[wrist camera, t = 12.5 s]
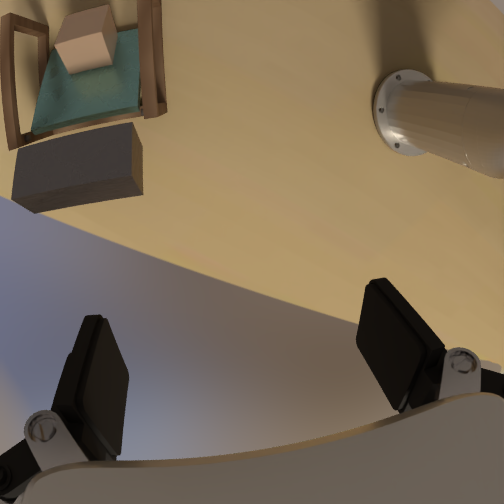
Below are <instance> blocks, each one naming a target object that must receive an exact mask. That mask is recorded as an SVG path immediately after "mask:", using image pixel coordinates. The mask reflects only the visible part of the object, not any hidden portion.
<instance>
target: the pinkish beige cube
mask: <svg viewBox="0 0 504 504" xmlns="http://www.w3.org/2000/svg"><path fill="white" fill-rule="evenodd" d="M117 38H118V34H117V30H116V27H115V23H114V20H113V16H112V13H111V9H110V5H109V4H108V5H104V6H99V7H95V8H92V9H88V10H84V11H81V12H77V13H74V14H70V15H67V16H65V18H64V21H63V23H62V26H61V28H60V31H59V33H58V36H57V39H56V42H55V44H54V46H55V48H56V49H57V51H58V53H59V55H60V57H61V59H62V61H63V63H64V65H65V67H66V69H67V71H68V73H69V74H70V75H71V74H75V73H79V72H82V71H86V70H91V69H95V68H99V67H104V66H108V65H113V60H114V54H115V48H116V43H117Z"/></svg>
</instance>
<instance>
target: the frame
mask: <svg viewBox="0 0 504 504" xmlns="http://www.w3.org/2000/svg"><path fill="white" fill-rule="evenodd" d="M137 11H138V43H139V63H140V78H141V91H142V103H143V106H140V112H134V113H128V114H123V115H117V116H112V117H107V118H102V119H97V120H93V121H88V122H84V123H79V124H75V125H71V126H67V127H63V128H59V129H55V130H52V131H48V132H44V133H41V134H37V135H34V134H33V132H32V131H31V132H28V133H25V134H21V133H20V126H19V118H18V109H17V99H16V86H15V68H14V31H18V32H22V33H25V34H29V35H33V36H36V37H38V64H39V81H40V88H41V85H42V81H43V77H44V74H45V71H46V67H47V64H48V61H49V27H48V26H46V25H43V24H41V23H38V22H35V21H33V20H30V19H27V18H24V17H22V16H19V15H16V14H13V13H8V14H6V15H4V16H2V17H1V26H0V73H1V91H2V103H3V113H4V121H5V129H6V136H7V143H8V149H9V151H10V150H13V149H16V148H19V147H22V146H24V145H27V144H29V143H32V142H35V141H37V140H40V139H43V138H46V137H49V136H51V135H54V134H58V133H62V132H66V131H70V130H74V129H79V128H83V127H88V126H92V125H97V124H102V123H107V122H112V121H117V120H122V119H128V118H134V117H140V116H144V119H148V118H154V117H159V116H161V115H163V114H165V113H167V101H166V88H165V74H164V58H163V38H162V10H161V0H137Z"/></svg>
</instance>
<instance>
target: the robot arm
mask: <svg viewBox="0 0 504 504" xmlns="http://www.w3.org/2000/svg"><path fill="white" fill-rule="evenodd" d="M379 109H380V110H379ZM373 114H374V121H375V125H376V128H377V131H378V133H379V135H380V137H381V138H382V140H383V141H384V142H385V143H386V144H387V145H388V146H389V148H391V149H392V150H394V151H395V152H398V153H400V154H403V155H406V156H418V155H422V154H424V153H426V152H429V153H432V154H435V155H437V156H440V157H443V158H445V159H448V160H450V161H453V162H455V163H458V164H460V165H463V166H465V167H468V168H470V169H472V170H475V171H477V172H480V173H482V174H485V175H487V176H489V177H493V178H498V179H504V89H500V88H493V87H484V86H476V85H468V84H458V83H448V82H435V81H432V80H431V79H430V78H429V77H428V76H427V75H425V74H423V73H422V72H419V71H416V70H410V69H404V70H398V71H395V72H393V73H391V74H389V75H388V76H387V77H386V78H385V79H384V80H383V81H382V82H381V84H380V85H379V87H378V89H377V92H376V94H375V99H374V105H373ZM356 344H357V347H358V348H359V350H360V352H361V354H362V355H363V357H364V359H365V360H366V362H367V364H368V366H369V367H370V369H371V371H372V372H373V374H374V376H375V378H376V379H377V381H378V383H379V385H380V386H381V388H382V390H383V392H384V393H385V395H386V397H387V399H388V400H389V402H390V404H391V406H392V408H393V409H394V410H398V412H399V413H400V414H398V415H394V416H391V417H389V418H386V419H383V420H380V421H376V422H374V423H370V424H367V425H364V426H360V427H357V428H354V429H350V430H347V431H343V432H339V433H336V434H332V435H328V436H324V437H320V438H316V439H312V440H307V441H303V442H298V443H294V444H289V445H284V446H278V447H273V448H267V449H261V450H255V451H249V452H242V453H234V454H226V455H218V456H208V457H198V458H184V459H167V460H138V461H137V460H135V461H116V457H117V455H120V454H121V446H122V436H123V425H124V416H125V406H126V398H127V390H128V383H129V373H128V370H127V367H126V365H125V363H124V360H123V358H122V355H121V353H120V350H119V348H118V345H117V343H116V340H115V338H114V335H113V333H112V330H111V328H110V325H109V322H108V320H107V319H106V318H103V317H102V316H101V315H87V316H85V318H84V320H83V323H82V325H81V328H80V331H79V333H78V336H77V339H76V341H75V344H74V347H73V350H72V353H70V354H69V355H68V357H67V360H66V362H65V365H64V369H63V372H62V375H61V378H60V381H59V384H58V388H57V390H56V394H55V397H54V400H53V404H52V408H51V411H50V410H42V411H38V412H36V413H34V414H33V415H32V416H30V417H29V419H28V420H27V421H26V424H25V427H24V435H25V439H24V440H22V441H21V442H19V443H18V444H16V445H15V446H14V447H12V448H11V449H9V450H8V451H6V452H5V453H3V454H2V455H1V456H0V504H504V374H501V373H497V372H494V371H490V370H487V369H483V368H481V363H480V360H479V358H478V356H477V355H476V354H475V353H473V352H472V351H470V350H468V349H465V348H460V347H457V348H452V349H450V350H449V351H448V352H447V350H446V349H445V348H444V347H445V345H444V344H443V343H442V341H441V340H440V339H439V338H438V337H437V335H436V334H435V333H434V332H433V331H432V329H431V328H430V327H429V326H428V325H427V323H426V322H425V321H424V320H423V319H422V318H421V316H420V315H419V314H418V313H417V312H416V311H415V310H414V308H413V307H412V306H411V305H410V304H409V303H408V302H407V300H406V299H405V298H404V297H403V296H402V295H401V294H400V293H399V291H398V290H397V289H396V288H395V287H394V286H393V285H392V284H391V283H390V282H389V280H388V279H386V278H379V279H373V280H371V281H370V282H369V284H367V285H366V287H365V293H364V299H363V304H362V310H361V315H360V321H359V326H358V331H357V336H356Z"/></svg>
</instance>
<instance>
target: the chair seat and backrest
mask: <svg viewBox="0 0 504 504" xmlns="http://www.w3.org/2000/svg"><path fill="white" fill-rule="evenodd" d="M117 34H118V38H117V43H116V48H115V54H114V60H113V65H108V66H104V67H99V68H95V69H91V70H86V71H82V72H79V73H75V74H71V75H70V74H69V73H68V71H67V69H66V67H65V65H64V63H63V61H62V59H61V57H60V55H59V53H58V51H57V49H54V50H52V52H51V55H50V58H49V61H48V64H47V67H46V71H45V74H44V77H43V81H42V85H41V88H40V92H39V96H38V100H37V104H36V108H35V113H34V117H33V122H32V127H31V131H32V132H33V134H34V135H37V134H41V133H44V132H48V131H52V130H55V129H59V128H63V127H67V126H71V125H75V124H79V123H84V122H88V121H93V120H97V119H102V118H107V117H112V116H117V115H123V114H128V113H134V112H140V91H141V78H140V63H139V43H138V29H132V30H127V31H122V32H117ZM140 195H143V146H142V144H141V142H140V139H139V137H138V134H137V132H136V129H135V127H134V124H133V122H130V123H124V124H119V125H113V126H108V127H103V128H98V129H94V130H89V131H84V132H80V133H76V134H71V135H67V136H63V137H59V138H55V139H51V140H48V141H44V142H40V143H37V144H33V145H30V146H26V147H23V148H20V149H18V153H17V159H16V165H15V172H14V180H13V188H12V197H11V200H13V201H14V202H16V203H18V204H19V205H21V206H23V207H24V208H26V209H27V210H29V211H31V212H33V213H34V214H35V213H40V212H45V211H51V210H56V209H61V208H66V207H72V206H78V205H83V204H89V203H95V202H101V201H107V200H113V199H120V198H127V197H133V196H140Z"/></svg>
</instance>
